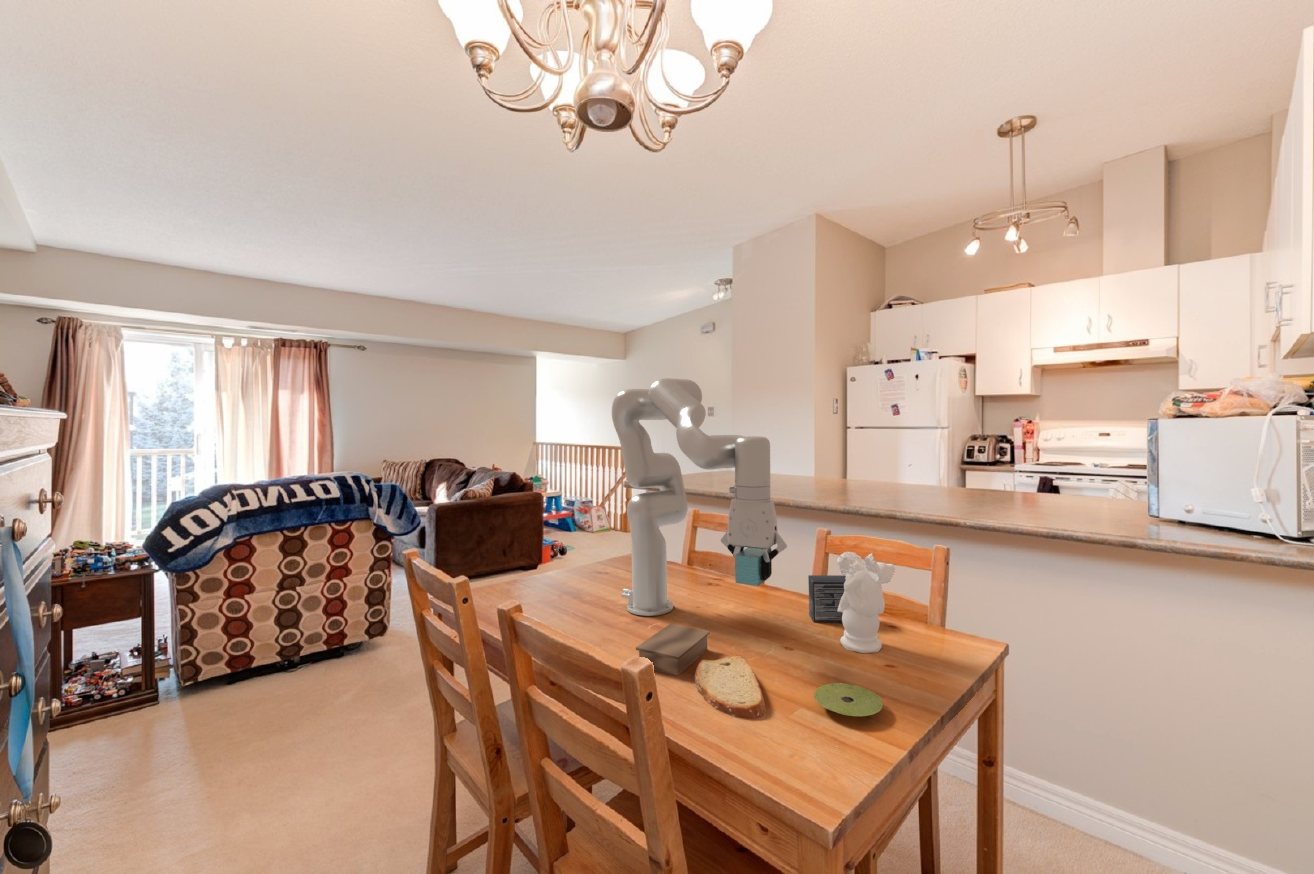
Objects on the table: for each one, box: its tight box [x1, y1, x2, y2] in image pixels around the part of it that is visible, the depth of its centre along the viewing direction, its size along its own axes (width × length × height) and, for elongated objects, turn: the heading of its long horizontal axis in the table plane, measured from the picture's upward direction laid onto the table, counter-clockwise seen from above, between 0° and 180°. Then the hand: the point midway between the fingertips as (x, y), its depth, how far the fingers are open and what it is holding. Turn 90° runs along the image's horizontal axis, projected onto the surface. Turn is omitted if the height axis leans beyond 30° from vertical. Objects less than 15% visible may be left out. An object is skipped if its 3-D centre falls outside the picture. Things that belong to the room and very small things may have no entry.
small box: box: [807, 574, 846, 624], centre depth 137 cm, size 11×6×10 cm, turn 84°
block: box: [734, 547, 765, 587], centre depth 116 cm, size 5×8×6 cm, turn 150°
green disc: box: [814, 682, 884, 718], centre depth 93 cm, size 11×11×2 cm
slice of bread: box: [694, 655, 767, 720], centre depth 102 cm, size 18×18×4 cm
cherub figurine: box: [836, 551, 896, 654], centre depth 120 cm, size 12×12×22 cm
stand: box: [635, 623, 711, 676], centre depth 115 cm, size 10×15×4 cm, turn 150°
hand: (753, 576), depth 116 cm, fingers closed on block, 5 cm apart
